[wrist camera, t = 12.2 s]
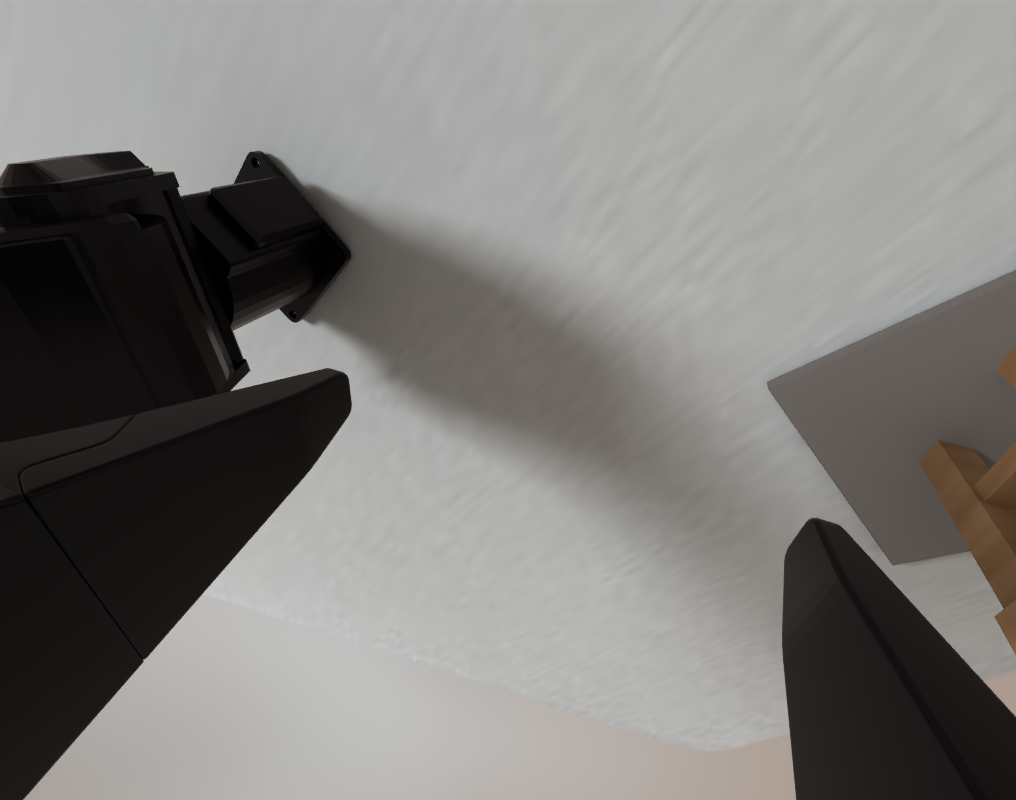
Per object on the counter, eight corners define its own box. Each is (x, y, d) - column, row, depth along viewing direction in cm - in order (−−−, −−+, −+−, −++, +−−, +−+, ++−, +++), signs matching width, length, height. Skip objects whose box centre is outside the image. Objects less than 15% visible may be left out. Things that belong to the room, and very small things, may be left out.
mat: (888, 555, 22) (892, 565, 21) (767, 382, 20) (768, 389, 19) (1271, 477, 15) (1289, 489, 15) (1154, 207, 13) (1172, 211, 13)
